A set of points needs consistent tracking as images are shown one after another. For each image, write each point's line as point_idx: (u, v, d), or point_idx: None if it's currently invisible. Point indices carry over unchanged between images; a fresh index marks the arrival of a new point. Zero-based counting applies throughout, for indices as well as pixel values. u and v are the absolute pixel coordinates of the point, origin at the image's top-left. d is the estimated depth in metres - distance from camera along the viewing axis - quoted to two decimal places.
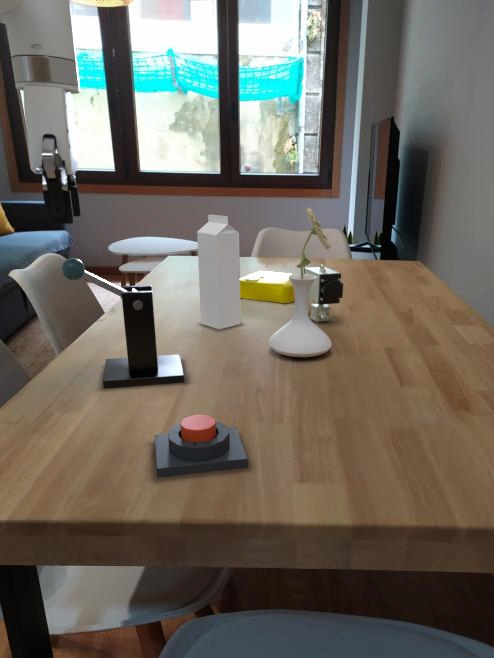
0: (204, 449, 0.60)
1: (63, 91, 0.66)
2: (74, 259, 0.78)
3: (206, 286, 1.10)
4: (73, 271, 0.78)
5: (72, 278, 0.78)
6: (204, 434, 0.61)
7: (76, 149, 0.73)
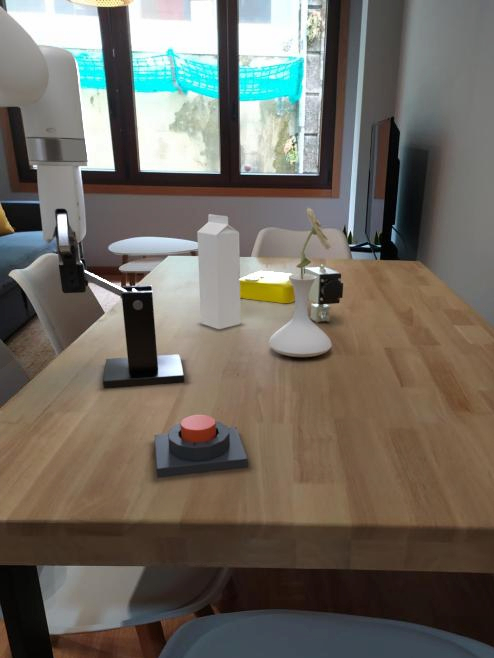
0: (204, 449, 0.60)
1: (74, 168, 0.71)
2: None
3: (206, 286, 1.10)
4: None
5: None
6: (204, 434, 0.61)
7: None
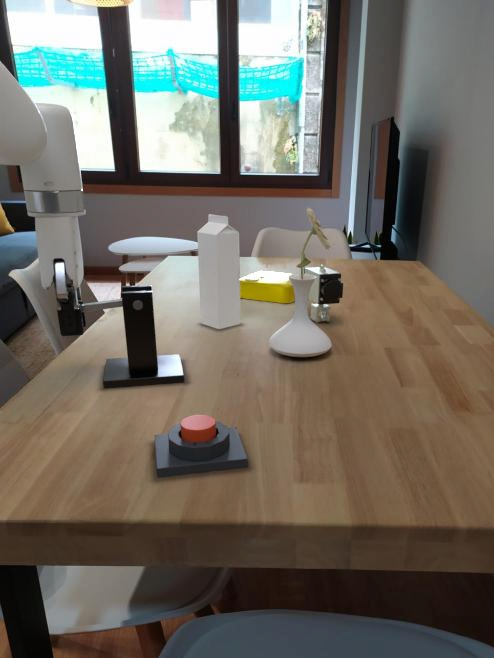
0: (204, 449, 0.60)
1: (71, 219, 0.73)
2: None
3: (206, 286, 1.10)
4: None
5: None
6: (204, 434, 0.61)
7: (82, 260, 0.80)
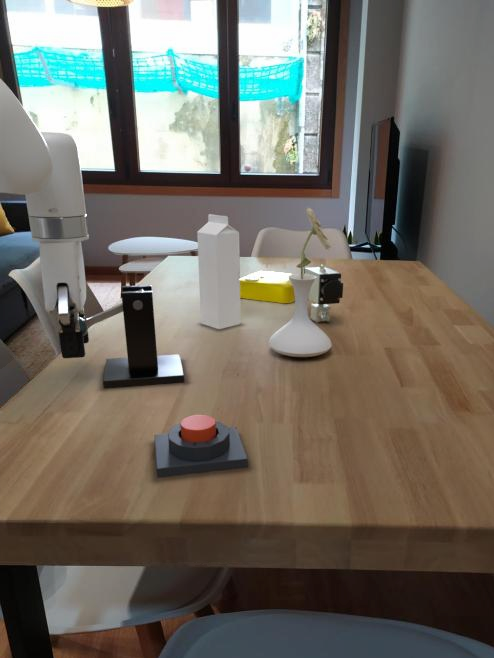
0: (204, 449, 0.60)
1: (74, 244, 0.75)
2: None
3: (206, 286, 1.10)
4: None
5: None
6: (204, 434, 0.61)
7: (85, 283, 0.82)
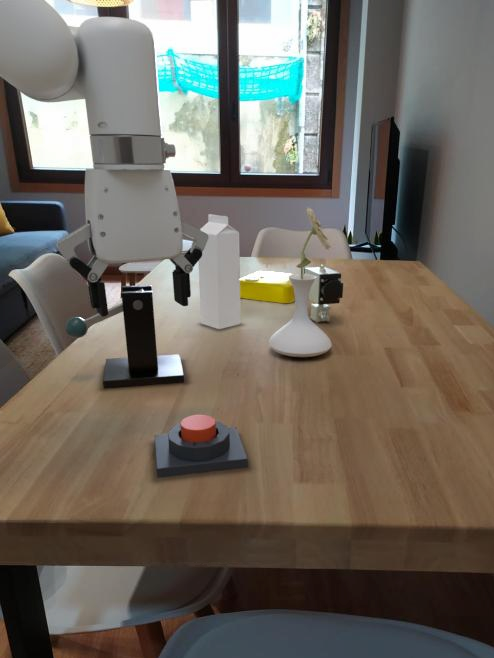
0: (204, 449, 0.60)
1: (102, 172, 0.56)
2: (68, 320, 0.81)
3: (206, 286, 1.10)
4: (76, 329, 0.81)
5: (81, 334, 0.81)
6: (204, 434, 0.61)
7: (156, 233, 0.61)
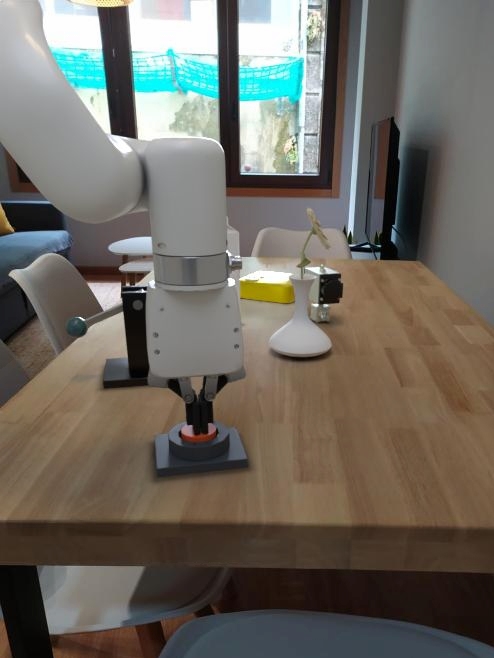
0: (204, 449, 0.60)
1: (159, 292, 0.54)
2: (68, 320, 0.81)
3: None
4: (76, 329, 0.81)
5: (81, 334, 0.81)
6: (204, 441, 0.61)
7: (214, 351, 0.57)
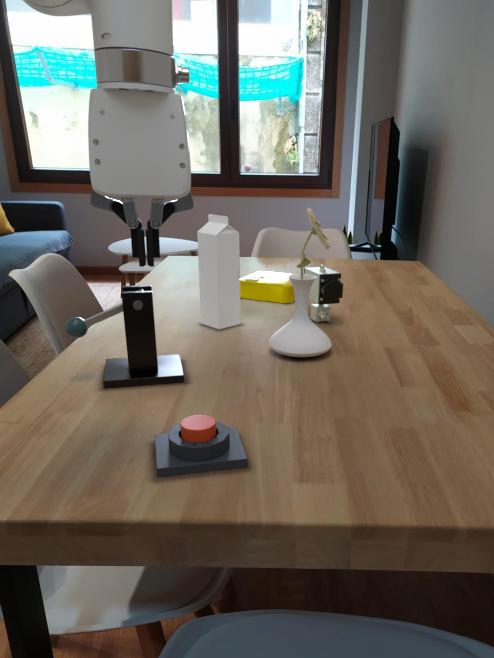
0: (204, 449, 0.60)
1: (100, 92, 0.52)
2: (68, 320, 0.81)
3: (206, 286, 1.10)
4: (76, 329, 0.81)
5: (81, 334, 0.81)
6: (204, 434, 0.61)
7: (158, 167, 0.55)
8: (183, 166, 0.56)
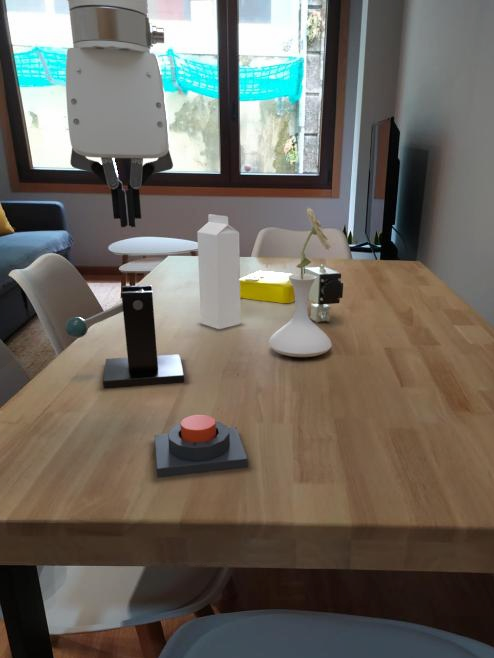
0: (204, 449, 0.60)
1: (76, 51, 0.53)
2: (68, 320, 0.81)
3: (206, 286, 1.10)
4: (76, 329, 0.81)
5: (81, 334, 0.81)
6: (204, 434, 0.61)
7: (136, 126, 0.56)
8: (160, 125, 0.57)
